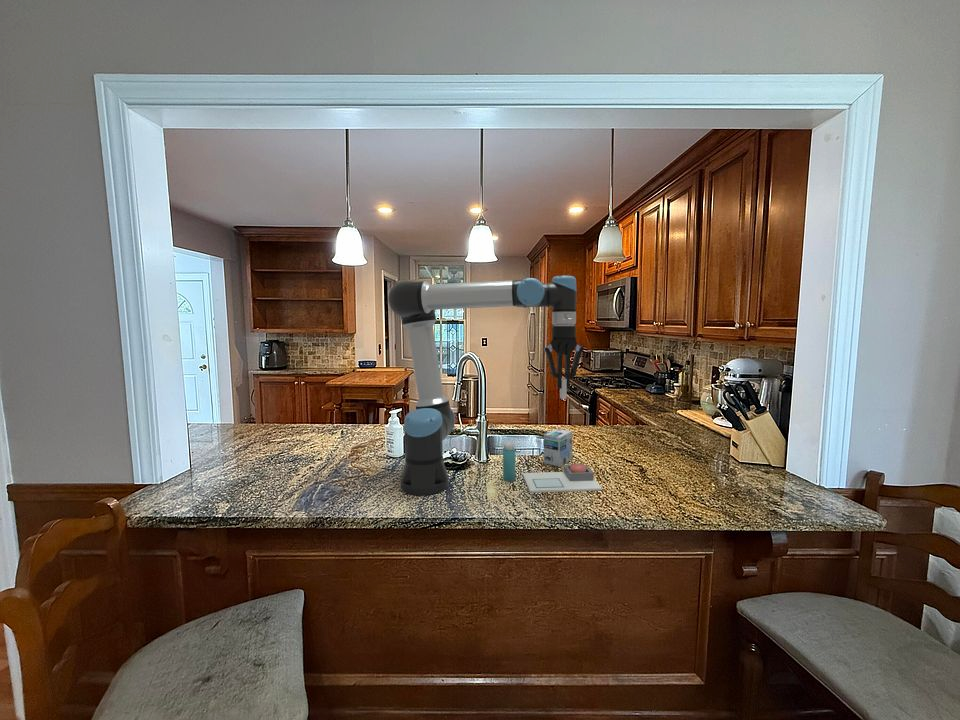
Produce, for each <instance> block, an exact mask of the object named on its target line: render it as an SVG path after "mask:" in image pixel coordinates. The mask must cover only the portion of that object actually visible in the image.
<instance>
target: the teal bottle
mask: <svg viewBox="0 0 960 720" xmlns="http://www.w3.org/2000/svg"><path fill="white" fill-rule="evenodd" d="M502 480H503V481H505V482H514V481H515V480H516V448H515V442H514V441H504V442H503V448H502Z"/></svg>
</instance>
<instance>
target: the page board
mask: <svg viewBox="0 0 960 720" xmlns="http://www.w3.org/2000/svg"><path fill="white" fill-rule="evenodd" d="M570 465H571V464H568V465H567V464H566V465H565V464H564V465H563V471H556V472H555V471H550V472H549V471H548V472H547V471H546V472H545V471H544V472H523V473H522V476H523V479H524V481H525V484H526V486H527V488H528V491H529V493H533V494H534V493H556V492H557V493H561V492H562V493H563V492H586V491H588V492H589V491H591V492H592V491H603V487H602V486H601V485H600V484H599V482H597V480H596V479H595V478H594V471H593V470H591V469H590V467H589V466H588V465H587V464H584V465H585V466H586V472H577V473H572V472H571V471H570Z"/></svg>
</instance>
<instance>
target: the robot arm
mask: <svg viewBox="0 0 960 720" xmlns="http://www.w3.org/2000/svg"><path fill="white" fill-rule="evenodd" d="M577 293H578V290H577V279H576V277H575V276H572V275H556V276H553V277H552V279H551V282H549V283H548V282H547V283H542V282H541V281H540V279H537V278H534V277H527V278H525V279H515V280H512V279H511V280H489V281H474V282H473V281H470V282H455V283H438V284H437V283H434V284H433V283H432V284H430V283H429V282H428V281H413V280H412V281H411V280H401V281H399V282H397V283H395V284H394V285H393V286H392V287H391V288H390V289H389V292H388V297H387V299H388V305H389V307H390V309H391V311H392V312H393V313H394V314H395V315H397V316H399V317H400V320H401V322H400V323H401V326H402V327H403V328H404V329H406V330H407V335H408V341H409V347H410V352H411V358H412V366H413V372H414V377H415V384H416V389H417V395H418V400H417V401H416V403H415V404H414V405H415V410H410V411H409V412H408V413H406V415H405V417H404V423H403V430H404V431H403V435H404V455H405V456H404V457H405V461H404V467H403V470H402V472H401V473H402V474H401V477H400V480H399V481H400V482H399V483H400V490H401V489H402V490H403V491H402V490H401V491H402V492H404V493H405V492H406V494H408V495H412V496H414V495H415V496H429V495H434V494H438V493H441V492H443V491H444V490H446V489H447V488H448V487H449V486H450V476H449V474H448V471H447V468H446V465H445V461H444V458H443V457H444V456H443V452H444V451H443V450H444V449H443V445H444V444H443V442H444V440H445V439H446V438H447V437H448V436H449V435H450V434H451V433H452V432H453V429H454V426H455V423H456V416H455V412H454V410H453V409H452V408H451V405H450V400H449V398H448V397H447V396H445V395H444V390H443V383H442V377H441V371H440V370H441V369H440V363H439V358H438V357H439V356H438V352H437V346H436V345H437V344H436V340H435V338H436V337H435V331H434V327H433V326H434V325H435V324H436V322H437V317H436V316H437V315H436V310H454V309H455V310H457V309H478V308H480V309H481V308H497V307H498V308H501V307H503V308H505V307H516V308H545V307H546V308H549V307H550V308H551V324H552V325H553V326H552V327H551V341H550V343H549V344H548V345H547V346H545V347H543V351H544V353H545V354H546V358H547V362H548V367H549V371H550V375H551V377H554V378H556V388H557V389H559V399H561V400H567V396H568V395H567V390H568V389H569V388H570V381H571V380H570V379H572V378H573V377H576V375H577V373H578V367H579V364H580V360H581V356H582V354H583V352H585V351H584V350H585V348H584V347H583V346H580V345H579V344H578V342H577V341H578V340H577V327H576V326H575V325H576V324H577ZM553 351H554V353H555V354H556V367H555V361H554V357H553V354H552V352H553ZM573 351H575V353H574V355H573V356H574V357H573V360H572V365H571V357H572V353H573ZM563 357H564V377H563Z"/></svg>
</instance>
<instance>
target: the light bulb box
mask: <svg viewBox="0 0 960 720" xmlns="http://www.w3.org/2000/svg"><path fill="white" fill-rule="evenodd" d="M572 460H573V430H568V429H562V428H561V429H560V428H555V429H553V430H551V431H549V432H547V433H544V434H543V464H546V465H550V466H555V467H559V468H561V467H562V466H564V465H565V464H567V463H568V462H570V461H572Z"/></svg>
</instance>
